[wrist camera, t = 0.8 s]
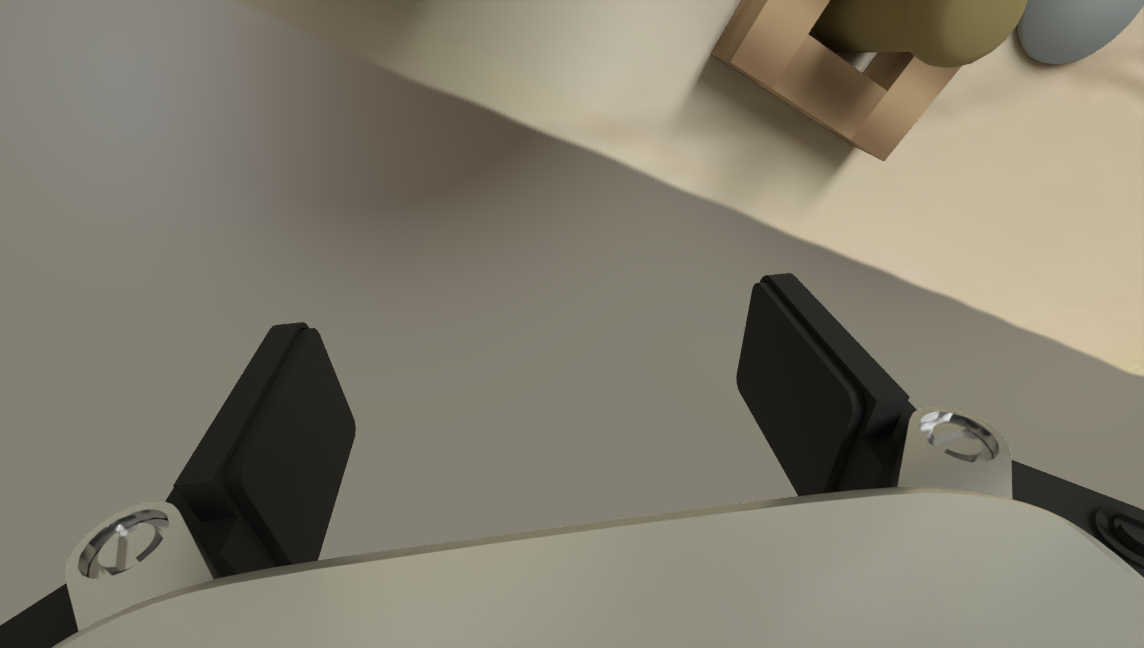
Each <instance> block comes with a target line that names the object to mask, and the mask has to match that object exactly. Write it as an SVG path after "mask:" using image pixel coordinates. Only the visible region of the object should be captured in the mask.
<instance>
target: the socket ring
mask: <svg viewBox="0 0 1144 648" xmlns="http://www.w3.org/2000/svg"><path fill="white" fill-rule="evenodd" d="M829 1H830V0H742V2H741V3H740V5H739V7H738V8H737V10H736V12H735V14H734V15H733V17H732V19H731V20H730V22H729V24H728V25H727V27H726V29H725V31H724V32H723V34H722V36H721V37H720V39H719V41H718V43H717V44H716V46H715V48H714V49H713V51H712V53H711V54H712V55H713V56H715V57H716V58H718V59H719V60H721V61H722V62H724V63H726V64H727V65H729V66H730V67H732V68H733V69H735V70H736V71H738V72H740V73H741V74H743V75H744V76H746V77H747V78H749V79H750V80H752V81H754V82H755V83H757V84H758V85H760V86H761V87H763V88H764V89H766V90H768V91H769V92H771V93H772V94H774V95H775V96H777V97H778V98H780V99H782V100H783V101H785V102H786V103H788V104H789V105H791V106H792V107H794V108H796V109H797V110H799V111H800V112H802V113H803V114H805V115H806V116H808V117H810V118H811V119H813V120H814V121H816V122H817V123H819V124H820V125H822V126H824V127H825V128H827V129H828V130H830V131H831V132H833V133H834V134H836V135H838V136H839V137H841V138H842V139H844V140H845V141H847V142H848V143H850V144H852V145H853V146H855V147H856V148H858V149H860V150H862V151H864V152H866V153H868V154H870V155H872V156H874V157H876V158H878V159H880V160H882V161H885V160H886V158H887V157H888V156H889V155H890V153H891V152H892V151H893V150H894V149H895V147H896V146H897V145H898V144H899V142H900V141H901V140H902V139H903V138H904V136H905V135H906V134H907V133H908V131H909V130H910V129H911V128H912V126H913V125H914V124H915V123H916V122H917V120H918V119H919V118H920V117H921V115H922V114H923V113H924V112H925V110H926V109H927V108H928V107H929V106H930V104H931V103H932V102H933V101H934V99H935V98H936V97H937V96H938V95H939V93H940V92H941V91H942V90H943V88H944V87H945V86H946V85H947V83H948V82H949V81H950V80H951V79H952V77H953V76H954V75H955V74H956V72H957V71H958V70H959V69H960V68H961V66H958V67H952V68H943V67H935V66H931V65H927V64H925V63H924V62H922V61H921V60H919V59H918V58H916V57H915V56H914V55H912V54H911V52H878V54H877V55H876V56H875V58H874V59H873V60H872V62H871V63H870V65H869V66H868V67H867V69H866V70H865V71H864V73H861V72H860V71H859V70H857V69H856V68H854V67H853V66H852V65H850V64H849V63H847V62H846V61H845V60H843V59H842V58H841V57H839V56H838V55H836V54H835V53H834V52H832V51H831V50H829V49H828V48H827V47H825V46H824V45H822V44H821V43H820V42H818V41H817V40H816V39H814V38H813V37H811V36H810V35H809V34H808V33H809V32H810V30H811V29H812V27H813V26H814V24H815V23H816V21H817V20H818V18H819V17H820V15H821V13H822V12H823V10H824V9H825V7H826V6H827V4H828V3H829Z"/></svg>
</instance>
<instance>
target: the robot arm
mask: <svg viewBox="0 0 1144 648" xmlns="http://www.w3.org/2000/svg"><path fill="white" fill-rule="evenodd" d="M737 386H738V390H739V392H740V394H741V395H742V397H743V399H744V401H745V402H746V404H747V406H748V408H749V409H750V411H751V413H752V415H753V416H754V418H755V420H756V422H757V424H758V425H759V427H760V429H761V431H762V433H763V434H764V436H765V438H766V440H767V441H768V443H769V445H770V447H771V448H772V450H773V452H774V453H775V456H776V457H777V459H778V461H779V462H780V464H781V466H782V468H783V470H784V471H785V473H786V475H787V477H788V479H789V480H790V482H791V484H792V486H793V487H794V489H795V491H796V493H797V494H798V496H797V497H788V498H779V499H771V500H763V501H755V502H747V503H739V504H732V505H724V506H716V507H708V508H701V509H693V510H685V511H677V512H669V513H662V514H653V515H646V516H639V517H631V518H624V519H616V520H608V521H600V522H593V523H585V524H578V525H570V526H562V527H555V528H548V529H540V530H533V531H525V532H518V533H511V534H503V535H495V536H488V537H481V538H474V539H467V540H460V541H452V542H445V543H437V544H431V545H423V546H416V547H409V548H401V549H395V550H387V551H380V552H373V553H365V554H358V555H352V556H345V557H339V558H332V559H326V560H320V561H318V558H319V555H320V551H321V548H322V544H323V541H324V538H325V535H326V531H327V528H328V524H329V521H330V518H331V515H332V511H333V508H334V505H335V501H336V498H337V495H338V491H339V488H340V485H341V481H342V478H343V474H344V471H345V468H346V464H347V461H348V458H349V455H350V451H351V448H352V444H353V441H354V438H355V431H356V430H355V429H356V428H355V421H354V418H353V415H352V413H351V410H350V408H349V406H348V403H347V401H346V398H345V396H344V393H343V391H342V388H341V386H340V383H339V381H338V378H337V376H336V373H335V371H334V368H333V366H332V364H331V361H330V359H329V356H328V354H327V351H326V349H325V346H324V344H323V341H322V339H321V336H320V334H319V332H318V331H317V330H316V329H315V328H311V329H310V328H309V327H308V325H307V324H306V323H303V322H301V323H291V324H281V325H274V326H273V327H272V328H271V329H270V330H269V332H268V333H267V335H266V337H265V338H264V340H263V342H262V343H261V345H260V346H259V348H258V349H257V352H256V353H255V354H254V356H253V358H252V359H251V361H250V363H249V364H248V366H247V367H246V369H245V370H244V372H243V374H242V375H241V377H240V379H239V380H238V382H237V383H236V385H235V387H234V388H233V390H232V391H231V393H230V395H229V396H228V398H227V400H226V401H225V403H224V405H223V406H222V408H221V410H220V411H219V413H218V414H217V416H216V418H215V419H214V421H213V422H212V424H211V425H210V427H209V429H208V430H207V432H206V434H205V435H204V437H203V438H202V440H201V442H200V443H199V445H198V446H197V448H196V450H195V451H194V453H193V454H192V456H191V458H190V459H189V461H188V463H187V464H186V466H185V467H184V469H183V471H182V472H181V474H180V475H179V477H178V479H177V480H176V482H175V484H174V485H173V486H174V488H173V490H172V492H171V493H170V495H169V496H168V498H167V500H166V501H165V502H163V501H154V502H145V503H142V504H138V505H134V506H131V507H129V508H127V509H125V510H122V511H120V512H118V513H116V514H114V515H112V516H111V517H110V518H108V519H106V520H105V521H103V522H102V523H100V524H99V525H97V526H96V527H95V528H94V529H93V530H91V531H90V532H89V533H88V534H87V535H86V536H85V537H83V539H82V540H81V541H80V542H79V543H78V545H77V546H76V547H75V548H74V550H73V551H72V552H71V554H70V557H69V559H68V561H67V563H66V565H65V579H66V584H64V585H63V586H61V587H60V588H58V589H57V590H55V591H54V592H52V593H50V594H49V595H47V596H46V597H44V598H43V599H41V600H39V601H38V602H36V603H35V604H33V605H32V606H30V607H29V608H27V609H26V610H24V611H22V612H21V613H19V614H18V615H16V616H15V617H13V618H11V619H10V620H8V621H7V622H5V623H4V624H2V625H1V626H0V648H1144V510H1142V509H1140V508H1137V507H1135V506H1132V505H1130V504H1127V503H1124V502H1121V501H1119V500H1116V499H1113V498H1111V497H1108V496H1106V495H1103V494H1100V493H1097V492H1095V491H1093V490H1090V489H1087V488H1085V487H1082V486H1079V485H1077V484H1074V483H1071V482H1069V481H1066V480H1063V479H1061V478H1058V477H1056V476H1053V475H1050V474H1047V473H1045V472H1042V471H1040V470H1037V469H1034V468H1032V467H1029V466H1027V465H1024V464H1021V463H1019V462H1016V461H1013V460H1011V451H1010V447H1009V444H1008V442H1007V441H1006V440H1005V438H1004V437H1003V435H1001V433H1000V432H999V431H998V430H996V429H995V428H994V427H993V426H992V425H990V424H989V423H988V422H986V421H984V420H982V419H980V418H979V417H977V416H975V415H973V414H970V413H968V412H965V411H963V410H960V409H955V408H951V407H947V406H928V407H923V408H920V409H918V410H916V409H915V408H914V406H913V405H912V404H911V403H910V402H909V401H908V399H909V396H908V395H907V394H906V393H905V391H904V390H903V389H902V388H901V387H900V386H899V385H898V384H897V383H896V382H895V381H894V380H893V379H892V378H891V377H890V376H889V375H888V374H887V373H886V372H885V370H884V369H883V368H882V367H881V366H880V365H879V364H878V363H877V362H876V361H875V360H874V359H873V358H872V357H871V356H870V355H869V354H868V353H867V351H865V349H864V348H863V347H862V346H861V345H860V344H859V343H858V342H857V341H856V340H855V339H854V338H853V337H852V336H851V335H850V334H849V333H848V332H847V330H846V329H845V328H843V326H842V325H841V324H840V323H839V322H838V321H837V320H836V319H835V318H834V317H833V316H832V315H831V314H830V313H829V312H828V310H826V308H825V307H824V306H823V305H822V304H821V303H820V302H819V301H818V300H817V299H816V298H815V297H814V296H813V295H812V294H811V293H810V292H809V291H808V289H807V288H806V287H805V286H804V285H803V284H802V283H801V282H800V281H799V280H798V279H797V278H796V277H795V276H794V275H793V274H791V273H786V274H777V275H766V276H764V277H762V279H761V280H760V283H756V284H755V285H754V286H753V289H752V294H751V300H750V305H749V311H748V316H747V322H746V327H745V333H744V338H743V344H742V349H741V354H740V360H739V365H738V371H737Z"/></svg>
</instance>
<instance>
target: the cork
mask: <svg viewBox="0 0 1144 648" xmlns="http://www.w3.org/2000/svg"><path fill="white" fill-rule="evenodd" d="M1026 4H1027V0H830V1H829V3H828V4H827V6H826V7H825V9H824V10H823V12H822V13H821V15H820V17H819V18H818V20H817V21H816V23H815V24H814V28H815V32H816V35H817V36H818V38H819V39H820V41H821V42H822V44H823V45H824V46H826V47H827V48H829V49H831V50H832V51H836V52H844V53H862V52H911V54H912V55H914V56H915V57H916V58H918V59H919V60H921V61H922V62H924V63H925V64H927V65H931V66H935V67H943V68H952V67H958V66H962V65H966V64H971V63H973V62H974V61H976V60H978V59H980V58H982V57H983V56H985V55H987V54H989V53H990V52H992V51H993V50H995V49H996V48H997V47H998V46H999V45H1000V44H1001V43H1002V42H1004V41H1005V40H1006V39H1007V37H1008V36H1009V35H1010V33H1011V32H1012V31H1013V30H1014V28H1015V27H1016V26H1017V24H1018V22H1019V20H1020V18H1021V16H1022V14H1023V12H1024V10H1025V7H1026Z"/></svg>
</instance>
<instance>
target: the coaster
mask: <svg viewBox="0 0 1144 648" xmlns="http://www.w3.org/2000/svg"><path fill="white" fill-rule="evenodd" d="M1143 6H1144V0H1027V4H1026V7H1025V10H1024V12H1023V14H1022V16H1021V18H1020V20H1019V22H1018V24H1017V34H1018V39H1019V42H1020V45H1021V47H1022V49H1023V51H1024V52H1025V53H1026V54H1027V55H1028V56H1029V57H1031V58H1032V59H1034V60H1036V61H1039V62H1043V63H1049V64H1066V63H1070V62H1074V61H1077V60H1080V59H1082V58H1085V57H1087V56H1089V55H1091V54H1092V53H1094V52H1096V51H1097V50H1099V49H1101V48H1102V47H1104V46H1105V45H1106V44H1107V43H1109V42H1110V41H1111V40H1113V39H1114V38H1115V37H1116V36H1117V35H1118V34H1119V33H1121V31H1122V30H1123V29H1124V28H1125V27H1126V26H1127V25H1128V24H1129V23H1130V22H1131V21H1132V20H1133V19H1134V17H1135V16H1136V15H1137V14H1138V12H1139V11H1140V10H1141V8H1142V7H1143Z"/></svg>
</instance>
